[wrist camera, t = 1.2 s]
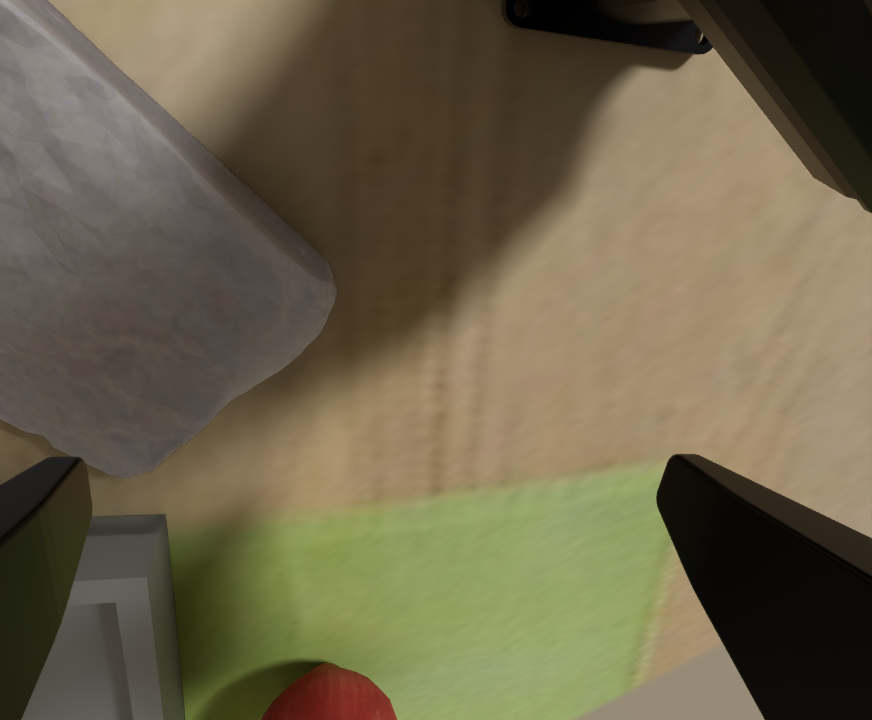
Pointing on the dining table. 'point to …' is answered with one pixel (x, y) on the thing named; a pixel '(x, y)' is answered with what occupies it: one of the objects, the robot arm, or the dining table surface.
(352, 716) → the onion
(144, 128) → the stone block
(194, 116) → the dining table surface
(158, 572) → the tray
